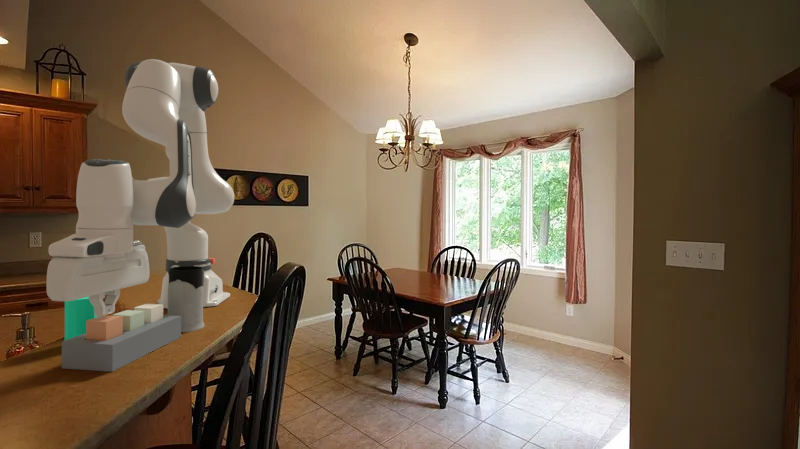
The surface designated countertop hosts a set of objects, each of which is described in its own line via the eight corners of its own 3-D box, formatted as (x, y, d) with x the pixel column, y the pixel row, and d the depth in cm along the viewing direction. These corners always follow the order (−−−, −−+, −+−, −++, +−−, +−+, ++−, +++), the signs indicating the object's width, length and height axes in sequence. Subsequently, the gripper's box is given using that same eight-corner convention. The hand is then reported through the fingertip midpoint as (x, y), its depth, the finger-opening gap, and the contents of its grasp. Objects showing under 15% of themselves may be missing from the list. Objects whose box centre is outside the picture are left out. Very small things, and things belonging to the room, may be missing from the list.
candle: (80, 350, 82) (80, 293, 82) (56, 347, 83) (56, 291, 83) (106, 341, 88) (107, 288, 88) (84, 338, 89) (84, 286, 89)
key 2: (146, 329, 91) (146, 303, 91) (163, 330, 91) (163, 304, 91) (133, 334, 87) (133, 307, 87) (150, 335, 87) (151, 308, 87)
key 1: (103, 345, 79) (103, 315, 79) (122, 346, 79) (122, 316, 79) (86, 352, 75) (86, 320, 75) (106, 353, 75) (106, 321, 75)
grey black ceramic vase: (157, 332, 96) (158, 270, 95) (186, 316, 110) (187, 262, 109) (195, 332, 96) (196, 271, 96) (218, 317, 110) (219, 263, 110)
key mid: (126, 337, 85) (126, 309, 85) (144, 338, 85) (144, 310, 85) (111, 343, 81) (111, 314, 81) (130, 345, 81) (130, 315, 81)
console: (140, 334, 93) (140, 313, 93) (180, 337, 93) (181, 315, 92) (61, 368, 73) (61, 341, 73) (112, 371, 73) (112, 344, 73)
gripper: (130, 239, 87) (130, 301, 87) (38, 246, 66) (38, 328, 67) (158, 240, 86) (157, 303, 87) (73, 248, 66) (73, 330, 66)
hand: (104, 314), depth 77 cm, fingers closed
